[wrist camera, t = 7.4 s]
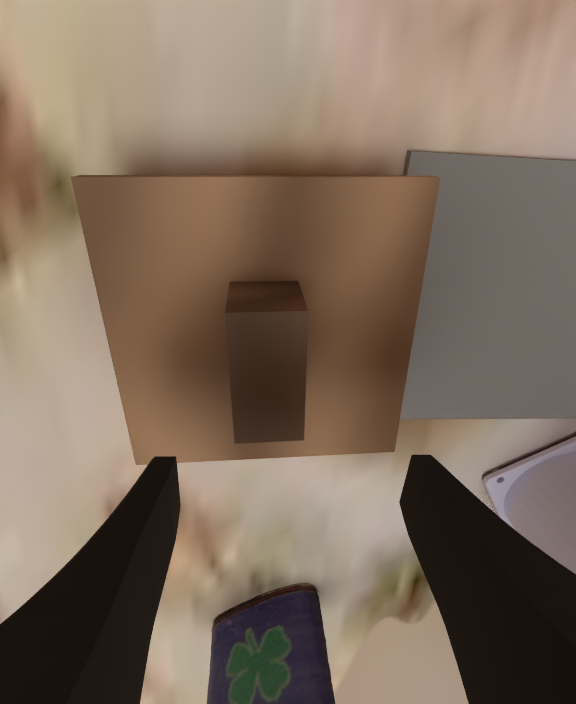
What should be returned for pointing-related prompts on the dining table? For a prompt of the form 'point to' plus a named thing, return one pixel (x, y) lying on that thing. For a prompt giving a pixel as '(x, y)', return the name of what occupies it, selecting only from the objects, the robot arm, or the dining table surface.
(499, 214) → the mat
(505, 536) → the robot arm
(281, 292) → the lid
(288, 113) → the dining table surface
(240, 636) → the flask
